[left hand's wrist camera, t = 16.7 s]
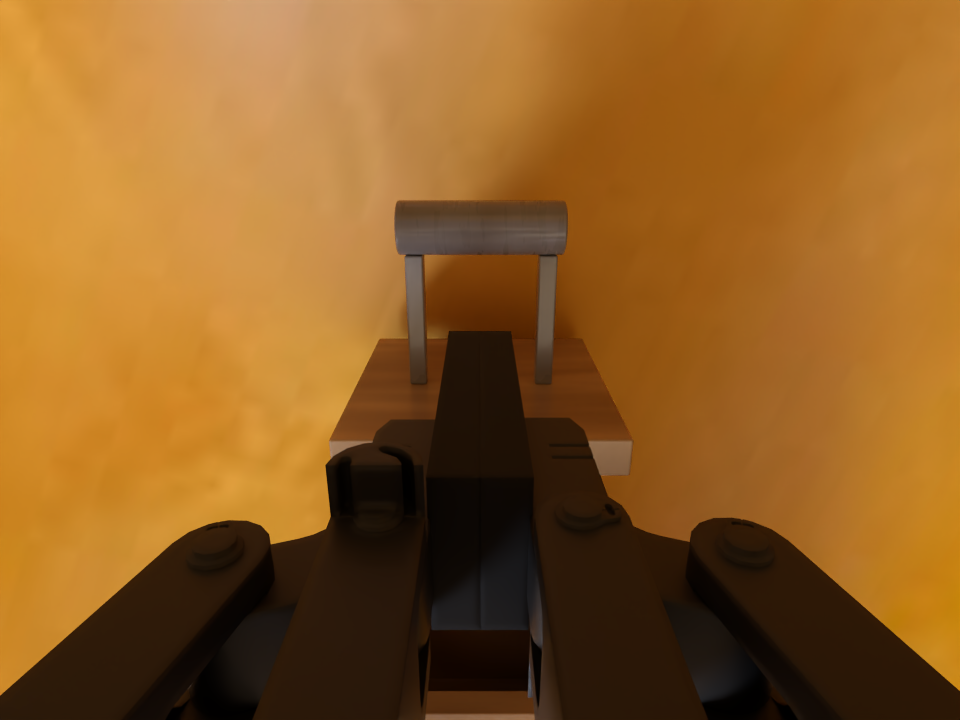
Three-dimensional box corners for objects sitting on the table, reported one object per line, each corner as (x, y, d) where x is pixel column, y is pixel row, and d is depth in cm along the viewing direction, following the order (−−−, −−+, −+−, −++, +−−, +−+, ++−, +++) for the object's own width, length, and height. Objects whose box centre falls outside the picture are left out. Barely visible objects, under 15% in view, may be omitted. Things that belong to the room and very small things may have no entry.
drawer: (369, 188, 23) (305, 218, 15) (592, 188, 23) (657, 218, 15) (400, 671, 32) (371, 864, 24) (560, 671, 32) (589, 863, 24)
